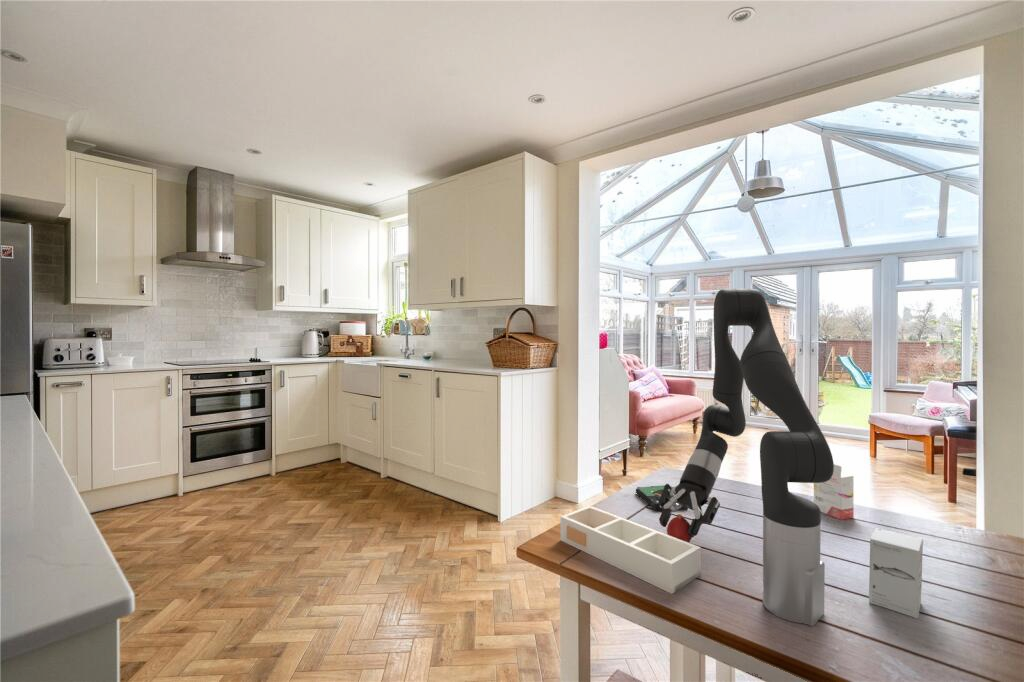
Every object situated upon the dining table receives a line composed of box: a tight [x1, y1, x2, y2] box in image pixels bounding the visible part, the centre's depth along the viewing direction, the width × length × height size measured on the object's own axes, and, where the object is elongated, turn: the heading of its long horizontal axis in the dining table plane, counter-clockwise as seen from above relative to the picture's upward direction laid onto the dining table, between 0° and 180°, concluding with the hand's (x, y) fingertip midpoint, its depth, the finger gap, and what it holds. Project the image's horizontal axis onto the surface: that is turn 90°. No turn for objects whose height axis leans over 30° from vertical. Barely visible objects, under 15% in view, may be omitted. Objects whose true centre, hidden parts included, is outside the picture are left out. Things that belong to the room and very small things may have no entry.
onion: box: [666, 513, 693, 543], centre depth 112 cm, size 6×6×8 cm
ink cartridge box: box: [813, 464, 855, 520], centre depth 131 cm, size 9×5×15 cm, turn 17°
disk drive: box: [635, 485, 689, 512], centre depth 142 cm, size 10×3×15 cm
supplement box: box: [868, 527, 924, 619], centre depth 88 cm, size 7×7×13 cm
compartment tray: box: [559, 505, 702, 595], centre depth 108 cm, size 31×11×6 cm, turn 39°
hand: (676, 530), depth 111 cm, fingers open, 7 cm apart
